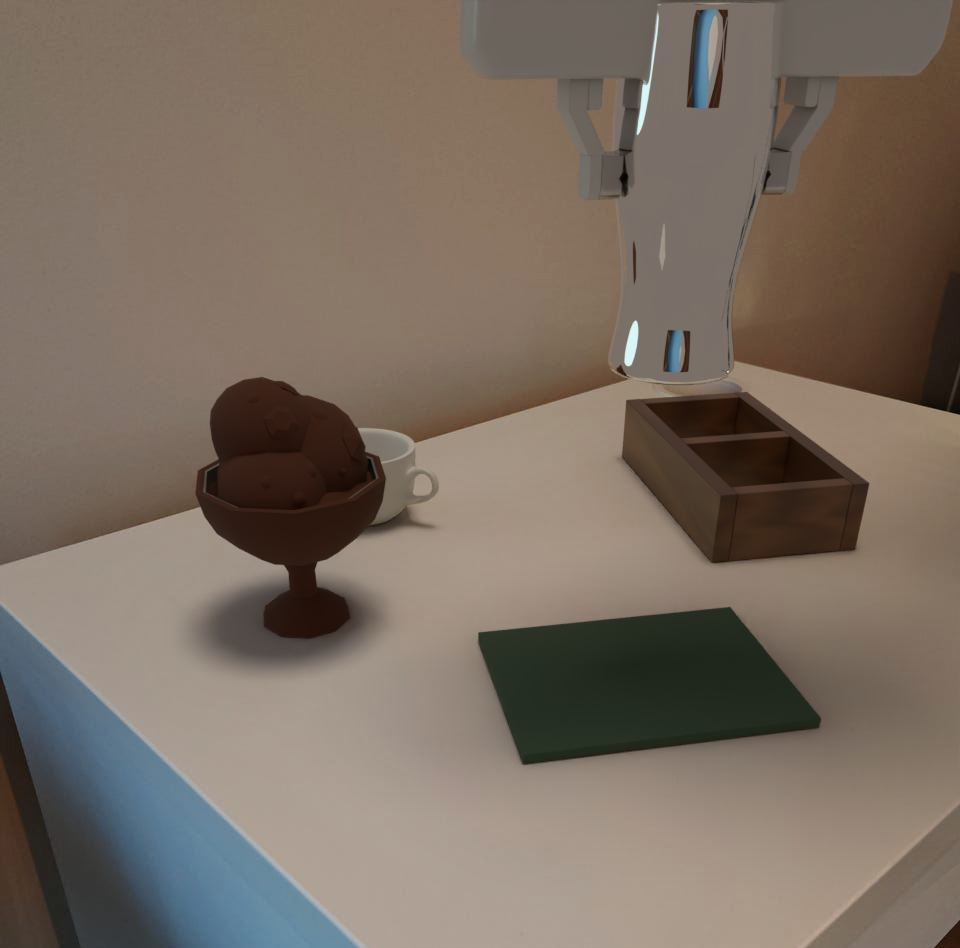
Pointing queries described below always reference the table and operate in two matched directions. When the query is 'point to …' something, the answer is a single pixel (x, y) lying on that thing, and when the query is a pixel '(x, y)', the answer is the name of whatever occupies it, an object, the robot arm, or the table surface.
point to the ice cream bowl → (289, 492)
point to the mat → (638, 684)
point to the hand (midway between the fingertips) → (687, 195)
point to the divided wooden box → (742, 477)
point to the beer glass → (692, 184)
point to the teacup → (396, 470)
